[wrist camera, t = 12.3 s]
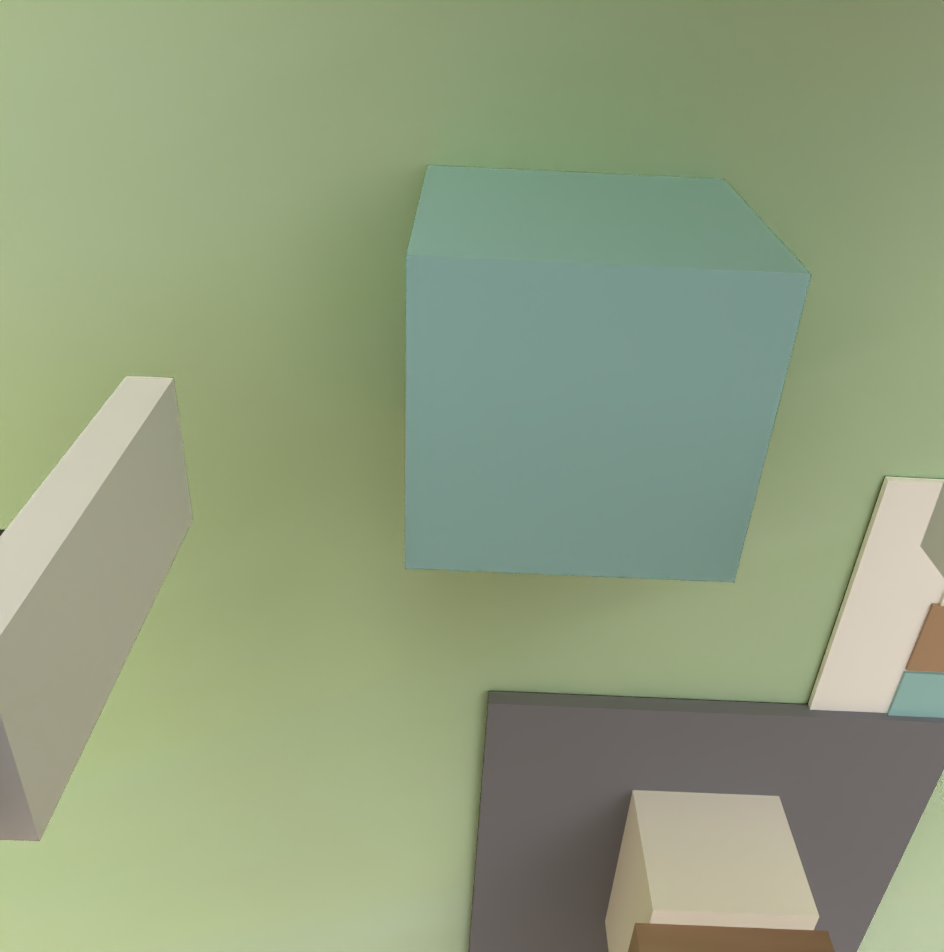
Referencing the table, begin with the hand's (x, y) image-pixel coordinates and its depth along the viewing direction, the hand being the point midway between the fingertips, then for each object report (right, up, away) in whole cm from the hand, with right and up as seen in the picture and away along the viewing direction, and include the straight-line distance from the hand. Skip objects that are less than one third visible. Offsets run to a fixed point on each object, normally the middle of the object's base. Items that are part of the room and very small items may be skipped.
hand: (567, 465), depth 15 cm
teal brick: (0, +4, +5) cm, 6 cm away
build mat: (+6, -13, +15) cm, 21 cm away
